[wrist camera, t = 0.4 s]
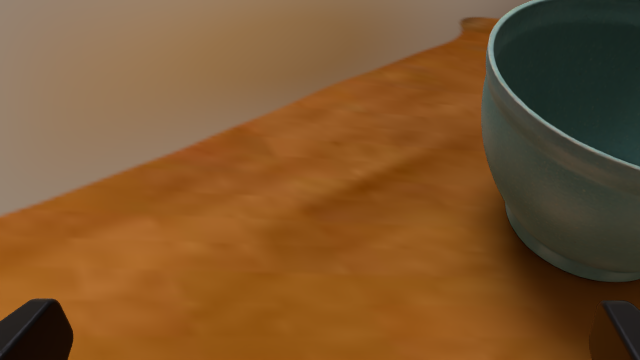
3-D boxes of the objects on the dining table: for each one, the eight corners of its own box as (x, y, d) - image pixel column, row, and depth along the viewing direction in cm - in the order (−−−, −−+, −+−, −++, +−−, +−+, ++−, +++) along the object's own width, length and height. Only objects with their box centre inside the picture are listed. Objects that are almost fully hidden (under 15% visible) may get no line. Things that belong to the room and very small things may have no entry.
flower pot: (678, 405, 27) (830, 256, 19) (395, 225, 34) (424, 68, 27) (761, 218, 36) (886, 67, 28) (523, 108, 43) (571, -34, 36)
